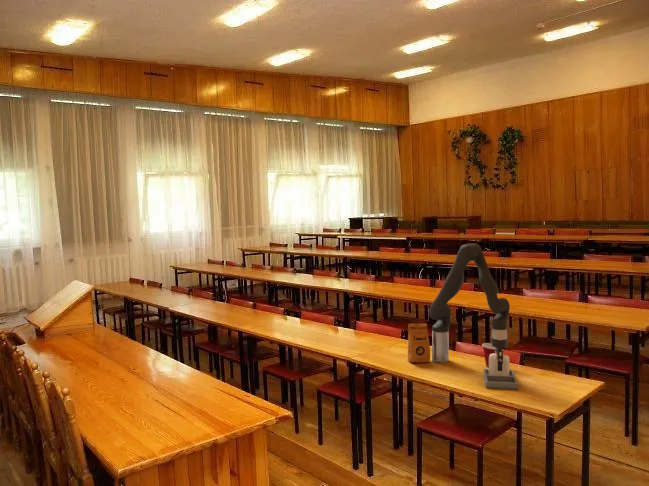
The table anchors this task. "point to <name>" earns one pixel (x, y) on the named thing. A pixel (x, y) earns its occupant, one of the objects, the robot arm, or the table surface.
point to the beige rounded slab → (494, 366)
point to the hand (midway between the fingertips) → (499, 368)
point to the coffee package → (418, 343)
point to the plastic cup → (488, 351)
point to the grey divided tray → (500, 380)
